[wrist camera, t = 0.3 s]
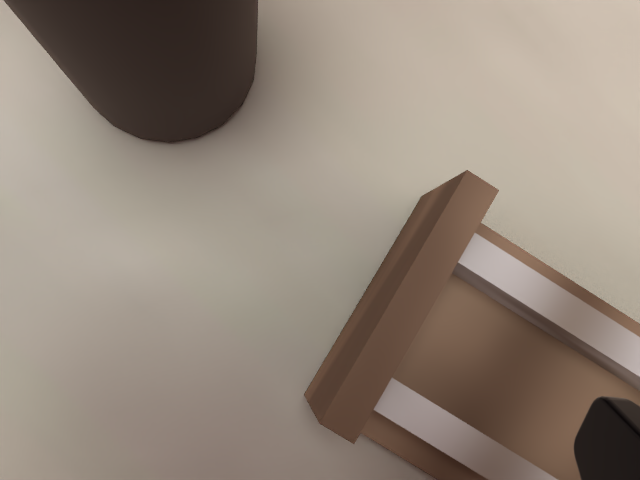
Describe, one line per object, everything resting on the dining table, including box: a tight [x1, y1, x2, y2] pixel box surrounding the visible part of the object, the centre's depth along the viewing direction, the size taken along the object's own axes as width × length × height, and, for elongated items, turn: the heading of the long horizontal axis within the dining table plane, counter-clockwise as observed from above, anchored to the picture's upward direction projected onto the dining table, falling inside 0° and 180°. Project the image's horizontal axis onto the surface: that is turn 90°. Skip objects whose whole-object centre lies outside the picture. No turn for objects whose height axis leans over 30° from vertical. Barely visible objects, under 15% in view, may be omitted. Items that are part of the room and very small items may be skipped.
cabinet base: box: [304, 170, 640, 480], centre depth 21 cm, size 12×9×5 cm
